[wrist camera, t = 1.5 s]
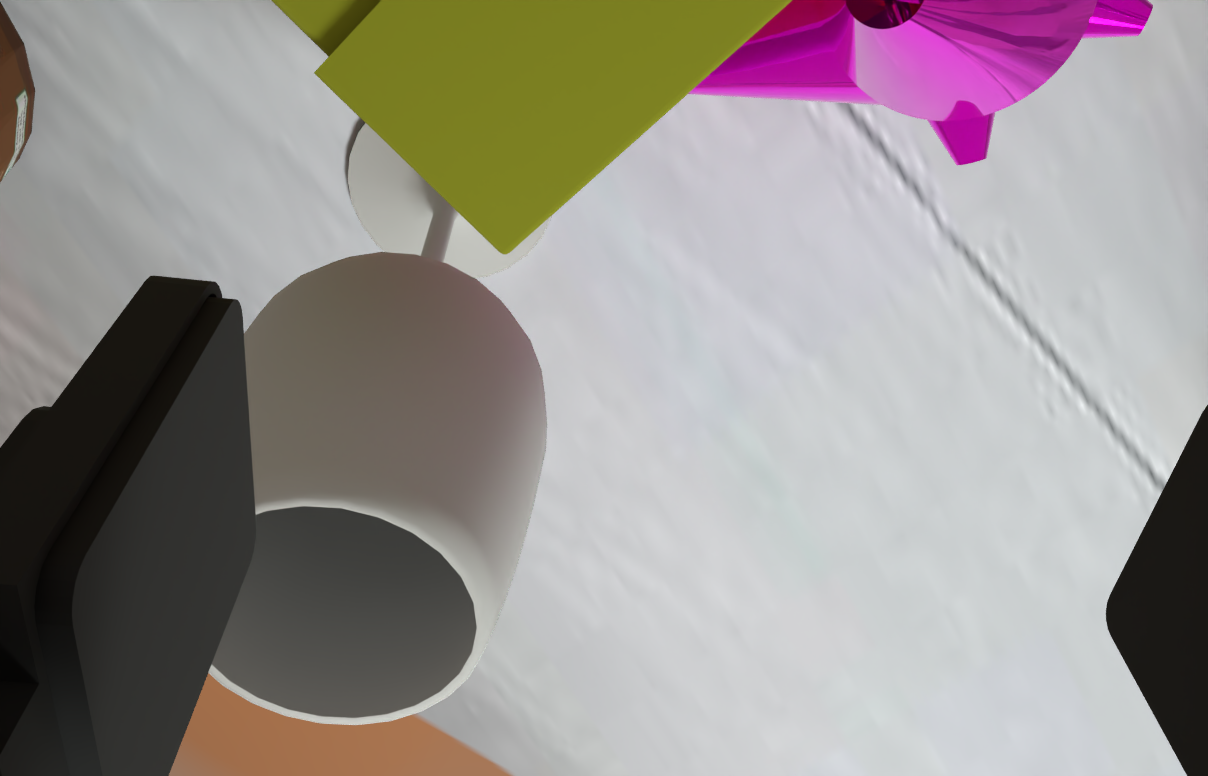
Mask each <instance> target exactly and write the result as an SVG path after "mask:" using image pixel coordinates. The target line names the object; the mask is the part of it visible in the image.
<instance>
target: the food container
mask: <svg viewBox="0 0 1208 776" xmlns="http://www.w3.org/2000/svg"><path fill="white" fill-rule="evenodd" d="M34 98H35V87H34V83H33V79H32V75H31V71H30V67H29V63H28V58H27V54H26V50H25V46H24V43H23V41H22V40H21V38H20V36H19V34H18V32H17V31H16V29H15V27H14V25H13V24H12V22H11V20H10V18H9V16H8V15H7V13H6V11H5V9H4V8H3V6H2V4H1V2H0V182H1V181H2V180H3V178H4V177H5V176H6V175H7V173H8V172H9V171H10V170H11V168H12V167H13V166H14V165H15V163H16V162H17V161H18V160H19V158H20V156H21V154H22V152H23V149H24V147H25V145H26V143H27V141H28V139H29V136H30V134H31V132H32V120H33V109H34Z"/></svg>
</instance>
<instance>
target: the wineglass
mask: <svg viewBox="0 0 1208 776" xmlns="http://www.w3.org/2000/svg"><path fill="white" fill-rule="evenodd" d="M348 185H349V190H350V196H351V202H352V205H353V207H354V209H355V211H356V214H357V216H358V218H359V220H360V223H361V225H362V226H363V228H364V229H365V230H366V232H367V233H368V234H369V235H370V237H371V238H372V239H373V241H374V242H375V243H376V245H378V246H379V247H380V248H381V249H382V250H383V251H385V252H378V253H372V254H365V255H359V256H352V257H348V258H345V259H342V260H338V261H335V262H333V263H330V264H328V265H325V266H323V267H321V268H318V269H316V270H313V271H311V272H308V273H306V274H303V275H301V276H300V277H298V278H297V279H296V280H294V281H293V282H292V283H291V284H289V285H288V286H287V287H285V288H284V289H283V290H281V291H280V292H279V293H277V294H276V295H275V296H274V297H273V298H272V299H271V300H270V301H269V303H268V304H267V305H266V306H265V307H264V309H263V310H262V311H261V312H260V313H259V315H258V316H257V317H256V319H255V320H254V321H253V323H252V324H251V325H250V327H249V328H248V329H247V331H246V332H245V333H244V346H245V361H246V376H247V391H248V406H249V422H250V437H251V452H252V467H253V482H254V497H255V513H256V539H255V546H254V552H253V556H252V560H251V563H250V566H249V568H248V571H247V574H246V576H245V579H244V581H243V584H242V586H241V589H240V592H239V594H238V597H237V599H236V602H235V605H234V607H233V610H232V612H231V615H230V618H229V620H228V623H227V625H226V628H225V630H224V633H223V636H222V638H221V641H220V643H219V646H218V649H217V651H216V654H215V656H214V659H213V662H212V664H211V667H210V669H209V672H208V673H209V674H210V675H212V676H213V677H214V678H215V679H216V680H217V681H218V682H219V683H220V684H221V685H223V686H224V687H226V688H228V689H230V690H231V691H233V692H234V693H236V694H238V695H239V696H241V697H243V698H244V699H246V700H248V701H249V702H251V703H253V704H256V705H258V706H261V707H264V708H266V709H269V710H271V711H274V712H277V713H279V714H282V715H285V716H289V717H293V718H298V719H303V720H307V721H313V722H317V723H326V724H346V725H360V724H369V723H378V722H386V721H392V720H395V719H399V718H402V717H405V716H408V715H412V714H415V713H418V712H422V711H423V710H425V709H427V708H429V707H431V706H432V705H434V704H436V703H438V702H440V701H442V700H443V699H445V698H447V697H449V696H450V695H451V694H452V693H453V692H454V691H455V690H456V689H457V688H458V687H459V686H460V685H461V684H463V683H464V682H465V681H466V680H467V679H468V678H469V677H470V675H471V673H472V671H473V670H474V668H475V666H476V665H477V663H478V661H479V660H480V658H481V656H482V654H483V652H484V650H485V648H486V646H487V644H488V641H489V639H490V637H491V635H492V633H493V631H494V628H495V625H496V623H497V620H498V618H499V615H500V612H501V610H502V607H503V604H504V602H505V599H506V596H507V594H508V591H509V588H510V585H511V582H512V579H513V576H514V573H515V570H516V567H517V564H518V561H519V557H520V554H521V550H522V547H523V543H524V540H525V536H526V532H527V529H528V525H529V521H530V517H531V513H532V509H533V506H534V501H535V496H536V492H537V487H538V483H539V478H540V474H541V469H542V464H543V460H544V455H545V451H546V436H547V417H546V405H545V393H544V385H543V378H542V371H541V368H540V365H539V362H538V360H537V357H536V354H535V352H534V349H533V346H532V344H531V341H530V339H529V338H528V336H527V335H526V334H525V332H524V331H523V329H522V328H521V327H520V325H519V324H518V322H517V321H516V320H515V318H514V317H513V315H512V314H511V312H510V311H509V310H508V309H507V308H506V306H505V305H504V304H503V303H502V301H501V300H500V299H499V298H497V297H496V296H495V295H494V294H493V293H492V292H491V291H489V290H488V289H487V288H486V287H485V286H484V285H483V284H481V283H480V282H479V281H478V280H477V279H475V278H480V277H487V276H490V275H492V274H495V273H497V272H500V271H502V270H505V269H507V268H509V267H511V266H512V265H514V264H515V263H516V262H518V261H519V260H521V259H522V258H523V257H525V256H526V255H527V254H528V253H529V252H530V251H531V250H532V249H533V247H534V246H535V245H536V244H537V243H538V242H539V240H540V239H541V238H542V236H543V234H544V232H545V230H546V228H547V226H548V224H549V222H550V220H551V218H552V216H550V217H549V218H548V219H547V220H546V221H545V222H544V223H543V224H541V225H540V226H539V227H538V228H537V229H536V230H535V231H534V232H532V233H531V234H530V235H529V236H528V237H527V238H526V239H525V240H523V241H522V242H521V243H520V244H519V245H518V246H517V247H516V248H515V249H513V250H512V251H511V252H510V253H508V254H506V255H505V254H501V253H500V252H498V251H497V250H496V249H495V248H494V247H493V246H492V245H491V244H490V243H489V242H488V241H487V240H486V239H485V238H484V237H483V236H482V235H481V234H480V233H479V232H478V231H477V230H476V229H475V228H474V227H473V226H472V225H471V224H470V223H469V222H467V221H466V220H465V219H464V218H463V217H462V216H461V215H460V214H459V213H458V212H457V211H456V210H455V209H454V208H453V207H452V206H451V205H450V204H449V203H448V202H447V201H446V200H445V199H444V198H443V197H442V196H441V195H440V194H439V193H438V192H437V191H435V190H434V189H433V188H432V187H431V186H430V185H429V184H428V183H427V182H426V181H425V180H424V179H423V178H422V177H421V176H420V175H419V174H418V173H417V172H416V171H415V170H414V169H413V168H412V167H411V166H410V165H409V164H408V163H407V162H406V161H404V160H403V159H402V158H401V157H400V156H399V155H398V154H397V153H396V152H395V151H394V150H393V149H392V148H391V147H390V146H389V145H388V144H387V143H386V142H385V141H384V140H383V139H382V138H381V137H380V136H379V135H378V134H377V133H376V132H375V131H373V130H372V129H371V128H370V127H369V126H368V125H367V124H366V123H365V124H364V125H363V127H362V128H361V129H360V131H359V132H358V134H357V137H356V140H355V143H354V145H353V148H352V151H351V154H350V157H349V169H348Z"/></svg>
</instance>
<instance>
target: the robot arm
mask: <svg viewBox="0 0 1208 776" xmlns="http://www.w3.org/2000/svg"><path fill="white" fill-rule="evenodd" d="M255 539H256V513H255V497H254V482H253V467H252V452H251V437H250V422H249V406H248V391H247V376H246V361H245V346H244V331H243V316H242V309H241V305H240V303H239V301H238V300H235V299H225V298H222V294H221V291H220V288H219V286H218V284H217V283H216V282H211V281H202V280H192V279H182V278H172V277H162V276H150V277H149V278H148V279H147V280H146V281H145V282H144V283H143V285H142V286H141V287H140V289H139V290H138V291H137V293H136V294H135V295H134V297H133V298H132V299H131V301H130V302H129V304H128V305H127V306H126V308H125V309H124V310H123V312H122V313H121V314H120V316H119V317H118V318H117V320H116V321H115V322H114V324H113V325H112V326H111V328H110V329H109V330H108V332H107V333H106V334H105V336H104V337H103V338H102V340H101V341H100V342H99V344H98V345H97V346H96V348H95V349H94V351H93V352H92V353H91V355H90V356H89V357H88V359H87V360H86V361H85V363H84V364H83V365H82V367H81V368H80V369H79V371H78V372H77V373H76V375H75V376H74V377H73V379H72V380H71V381H70V383H69V384H68V385H67V387H66V388H65V389H64V391H63V392H62V394H61V395H60V396H59V398H58V399H57V400H56V402H55V403H54V404H53V406H52V407H46V406H43V407H39V408H35V409H33V410H32V411H31V412H30V413H28V414H27V415H26V416H25V417H24V418H23V419H22V420H21V422H20V423H19V424H18V426H17V427H16V428H15V429H14V431H13V432H12V433H11V435H10V436H9V437H8V439H7V440H6V441H5V442H4V444H3V445H2V446H1V448H0V776H168V775H169V773H170V770H171V767H172V765H173V763H174V760H175V757H176V755H177V752H178V749H179V747H180V744H181V742H182V739H183V737H184V734H185V731H186V729H187V726H188V724H189V721H190V719H191V716H192V713H193V711H194V708H195V706H196V703H197V700H198V698H199V695H200V693H201V690H202V687H203V685H204V682H205V680H206V677H207V674H208V672H209V669H210V667H211V664H212V662H213V659H214V656H215V654H216V651H217V649H218V646H219V643H220V641H221V638H222V636H223V633H224V630H225V628H226V625H227V623H228V620H229V618H230V615H231V612H232V610H233V607H234V605H235V602H236V599H237V597H238V594H239V592H240V589H241V586H242V584H243V581H244V579H245V576H246V574H247V571H248V568H249V566H250V563H251V560H252V556H253V552H254V546H255ZM1106 621H1107V626H1108V630H1109V632H1110V635H1111V637H1112V639H1113V641H1114V643H1115V644H1116V646H1117V648H1118V650H1119V652H1120V654H1121V655H1122V657H1123V659H1124V661H1125V663H1126V664H1127V666H1128V668H1129V670H1130V672H1131V674H1132V675H1133V677H1134V679H1135V681H1136V683H1137V685H1138V686H1139V688H1140V690H1141V692H1142V694H1143V696H1144V697H1145V699H1146V701H1147V703H1148V705H1149V707H1150V708H1151V710H1152V712H1153V714H1154V716H1155V718H1156V719H1157V721H1158V723H1159V725H1160V727H1161V729H1162V730H1163V732H1164V734H1165V736H1166V738H1167V740H1168V741H1169V743H1170V745H1171V747H1172V749H1173V751H1174V752H1175V754H1176V756H1177V758H1178V760H1179V762H1180V763H1181V765H1182V767H1183V769H1184V771H1185V772H1186V774H1187V776H1208V405H1207V407H1206V408H1205V410H1204V411H1203V413H1202V414H1201V416H1200V418H1199V420H1198V422H1197V424H1196V426H1195V428H1194V430H1193V432H1192V434H1191V436H1190V438H1189V440H1188V442H1187V444H1186V446H1185V448H1184V450H1183V452H1182V454H1181V456H1180V458H1179V460H1178V462H1177V464H1176V466H1175V468H1174V470H1173V472H1172V474H1171V476H1170V478H1169V480H1168V482H1167V484H1166V486H1165V488H1164V489H1163V491H1162V493H1161V495H1160V497H1159V499H1158V501H1157V503H1156V505H1155V507H1154V509H1153V511H1152V513H1151V515H1150V517H1149V519H1148V521H1147V523H1146V525H1145V527H1144V529H1143V531H1142V533H1141V535H1140V537H1139V539H1138V541H1137V543H1136V545H1135V547H1134V549H1133V551H1132V553H1131V555H1130V557H1129V559H1128V561H1127V562H1126V564H1125V566H1124V568H1123V570H1122V572H1121V574H1120V576H1119V578H1118V580H1117V582H1116V584H1115V586H1114V588H1113V590H1112V592H1111V594H1110V596H1109V599H1108V602H1107V608H1106Z"/></svg>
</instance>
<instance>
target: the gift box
mask: <svg viewBox="0 0 1208 776" xmlns="http://www.w3.org/2000/svg"><path fill="white" fill-rule="evenodd" d="M272 1H273V2H274V3H275V4H276V5H277V6H278V7H279V8H280V9H281V10H282V11H283V12H284V13H285V14H286V15H287V16H288V17H289V18H290V19H291V20H292V21H293V22H294V23H295V24H296V25H297V26H298V27H299V28H300V29H301V30H302V31H303V32H304V33H305V34H306V35H307V36H308V37H309V38H310V39H311V40H312V41H313V42H314V43H315V44H316V45H318V46H319V47H320V48H321V49H322V50H323V51H324V52H325V53H326V54H327V55H328V56H329V57H328V58H327V59H326V60H325V62H324V63H323V64H322V65H321V66H320V67H319V68H318V69H317V70H316V71H315V72H314V73H315V74H316V75H317V76H318V77H319V78H320V79H321V80H322V81H323V82H324V83H325V84H326V85H327V86H328V87H329V88H330V89H331V90H332V91H333V92H334V93H335V94H336V95H337V96H338V97H339V98H340V99H341V100H342V101H344V102H345V103H346V104H347V105H348V106H349V107H350V108H351V109H352V110H353V111H354V112H355V113H356V114H357V115H358V116H359V117H360V118H361V119H362V120H363V121H364V122H365V123H366V124H367V125H368V126H369V127H370V128H371V129H372V130H373V131H375V132H376V133H377V134H378V135H379V136H380V137H381V138H382V139H383V140H384V141H385V142H386V143H387V144H388V145H389V146H390V147H391V148H392V149H393V150H394V151H395V152H396V153H397V154H398V155H399V156H400V157H401V158H402V159H403V160H404V161H406V162H407V163H408V164H409V165H410V166H411V167H412V168H413V169H414V170H415V171H416V172H417V173H418V174H419V175H420V176H421V177H422V178H423V179H424V180H425V181H426V182H427V183H428V184H429V185H430V186H431V187H432V188H433V189H434V190H435V191H437V192H438V193H439V194H440V195H441V196H442V197H443V198H444V199H445V200H446V201H447V202H448V203H449V204H450V205H451V206H452V207H453V208H454V209H455V210H456V211H457V212H458V213H459V214H460V215H461V216H462V217H463V218H464V219H465V220H466V221H467V222H469V223H470V224H471V225H472V226H473V227H474V228H475V229H476V230H477V231H478V232H479V233H480V234H481V235H482V236H483V237H484V238H485V239H486V240H487V241H488V242H489V243H490V244H491V245H492V246H493V247H494V248H495V249H496V250H497V251H498V252H500V253H501V254H505V255H506V254H508V253H510V252H511V251H512V250H513V249H515V248H516V247H517V246H518V245H519V244H520V243H521V242H522V241H523V240H525V239H526V238H527V237H528V236H529V235H530V234H531V233H532V232H534V231H535V230H536V229H537V228H538V227H539V226H540V225H541V224H543V223H544V222H545V221H546V220H547V219H548V218H549V217H550V216H552V215H553V214H554V213H555V212H556V211H557V210H558V209H559V208H560V207H562V206H563V205H564V204H565V203H566V202H567V201H568V200H569V199H571V198H572V197H573V196H574V195H575V194H576V193H577V192H578V191H580V190H581V189H582V188H583V187H584V186H585V185H586V184H587V183H588V182H590V181H591V180H592V179H593V178H594V177H595V176H596V175H597V174H599V173H600V172H601V171H602V170H603V169H604V168H605V167H606V166H608V165H609V164H610V163H611V162H612V161H613V160H614V159H615V158H616V157H618V156H619V155H620V154H621V153H622V152H623V151H624V150H625V149H627V148H628V147H629V146H630V145H631V144H632V143H633V142H634V141H636V140H637V139H638V138H639V137H640V136H641V135H642V134H643V133H644V132H646V131H647V130H648V129H649V128H650V127H651V126H652V125H653V124H655V123H656V122H657V121H658V120H659V119H660V118H661V117H662V116H664V115H665V114H666V113H667V112H668V111H669V110H670V109H671V108H673V107H674V106H675V105H676V104H677V103H678V102H679V101H680V100H681V99H683V98H684V97H685V96H686V95H687V94H695V95H713V96H730V97H748V98H766V99H783V100H801V101H819V102H837V103H854V104H872V105H884V106H886V107H888V108H890V109H892V110H894V111H897V112H899V113H902V114H905V115H908V116H911V117H915V118H920V119H926V120H927V121H928V122H929V124H930V125H931V127H932V128H933V130H934V131H935V133H936V134H937V136H938V137H939V139H940V141H941V142H942V144H943V145H944V147H945V148H946V150H947V151H948V153H949V154H950V156H951V157H952V159H953V160H954V162H955V164H956V165H963V164H968V163H973V162H976V161H980V160H983V159H985V158H987V152H988V147H989V142H990V137H991V132H992V126H993V121H994V116H995V112H996V111H999V110H1001V109H1004V108H1006V107H1008V106H1010V105H1012V104H1014V103H1016V102H1018V101H1020V100H1021V99H1023V98H1025V97H1026V96H1028V95H1029V94H1031V93H1032V92H1034V91H1035V90H1036V89H1038V88H1039V87H1040V86H1041V85H1043V84H1044V83H1045V82H1046V81H1047V80H1048V79H1049V78H1050V77H1052V76H1053V75H1054V74H1055V73H1056V72H1057V70H1058V69H1059V68H1060V67H1061V66H1062V65H1063V64H1064V63H1065V61H1066V60H1067V59H1068V58H1069V56H1070V55H1071V54H1072V52H1073V51H1074V49H1075V48H1076V46H1077V45H1078V43H1079V42H1080V40H1081V39H1083V38H1106V37H1129V36H1138V35H1139V34H1140V33H1141V31H1142V30H1143V28H1144V26H1145V24H1146V22H1147V20H1148V18H1149V16H1150V14H1151V11H1152V8H1153V5H1152V4H1151V3H1150V2H1149V1H1148V0H272Z"/></svg>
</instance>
